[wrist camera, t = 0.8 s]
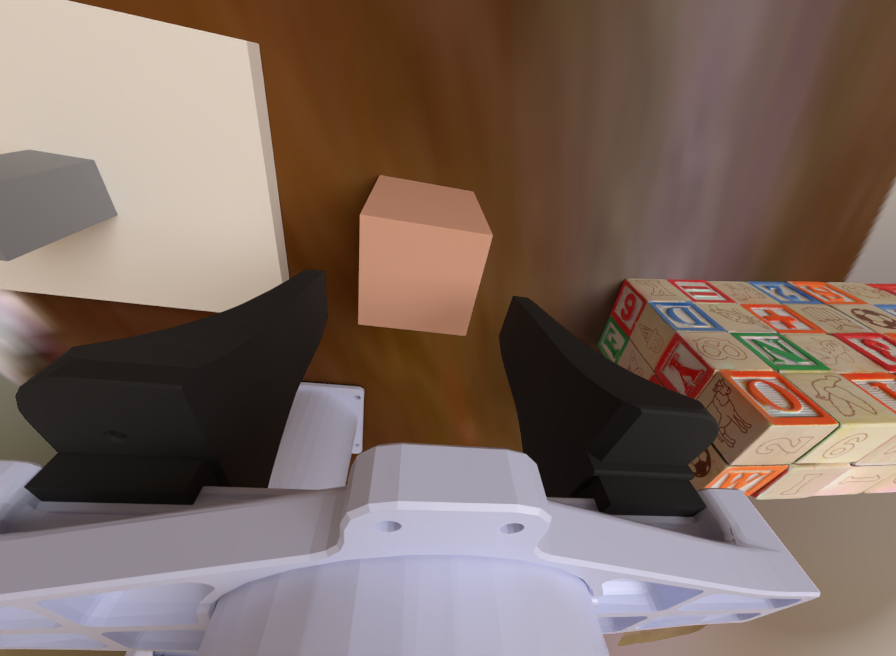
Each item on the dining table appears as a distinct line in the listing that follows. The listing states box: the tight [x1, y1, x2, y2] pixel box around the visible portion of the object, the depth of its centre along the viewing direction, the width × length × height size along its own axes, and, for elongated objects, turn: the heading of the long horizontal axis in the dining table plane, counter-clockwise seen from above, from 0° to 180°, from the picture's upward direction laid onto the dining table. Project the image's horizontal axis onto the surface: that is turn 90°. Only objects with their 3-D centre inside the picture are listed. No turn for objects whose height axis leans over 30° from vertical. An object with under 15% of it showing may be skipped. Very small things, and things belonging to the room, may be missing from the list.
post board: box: [0, 0, 289, 313], centre depth 14 cm, size 14×18×7 cm
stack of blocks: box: [598, 279, 896, 499], centre depth 20 cm, size 21×6×12 cm, turn 88°
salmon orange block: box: [358, 175, 493, 336], centre depth 17 cm, size 5×5×7 cm
